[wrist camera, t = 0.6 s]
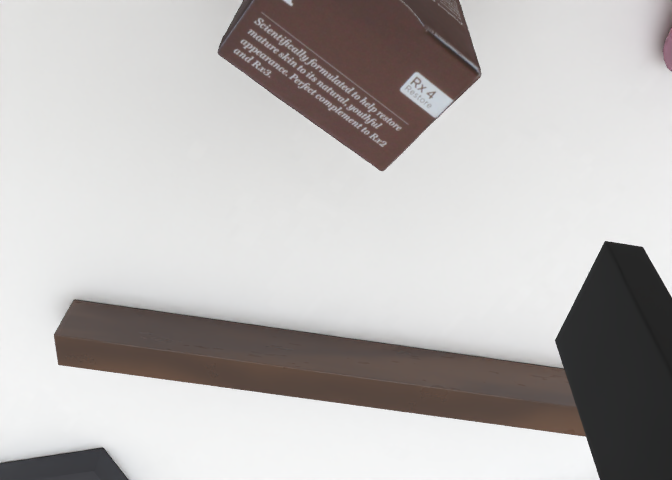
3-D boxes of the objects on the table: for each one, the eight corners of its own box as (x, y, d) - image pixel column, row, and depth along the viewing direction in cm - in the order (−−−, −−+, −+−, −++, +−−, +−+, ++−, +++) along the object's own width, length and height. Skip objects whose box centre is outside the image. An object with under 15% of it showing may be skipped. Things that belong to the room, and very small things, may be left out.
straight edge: (73, 299, 38) (53, 334, 36) (606, 374, 40) (621, 413, 38) (77, 329, 40) (58, 365, 37) (591, 400, 42) (604, 439, 39)
